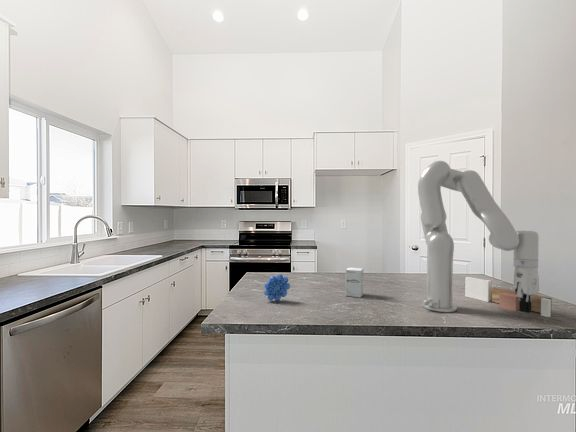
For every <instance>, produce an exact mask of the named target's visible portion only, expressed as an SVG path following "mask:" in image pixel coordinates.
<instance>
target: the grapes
mask: <svg viewBox="0 0 576 432" xmlns="http://www.w3.org/2000/svg"><path fill="white" fill-rule="evenodd" d="M288 282H289V278H288V276H283V274H282V273H279V274H277V275H276V276H275V275H272V276H270V277H269V278H268V281H267V282H265V283H264V285H263V287H264V288H265V289H264V290H263V295H264V296H267V300H268V301H273V300H274V301H275V302H279V301H281V299H282V298H283V297H284V298H286V296H287V295H288V290H290V288H291V284H290V283H288Z"/></svg>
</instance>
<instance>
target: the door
mask: <svg viewBox="0 0 576 432" xmlns="http://www.w3.org/2000/svg"><path fill="white" fill-rule="evenodd" d="M501 293H509V294H514V295H517V293H515V292H514V290H511V289H506V288H499V287H495V286H492V301H491V302H492V303H497V304H499V294H501ZM542 298H545V299H551V307H552V297H547V296H542V295H537V294H533V295H532V301H530V302H531V312H537V313H540V314H541V299H542Z"/></svg>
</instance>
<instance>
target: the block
mask: <svg viewBox="0 0 576 432" xmlns="http://www.w3.org/2000/svg"><path fill="white" fill-rule="evenodd" d="M498 304H499V305H498V306H499V307H498V308H502V309H505V310H511V311H515V312H516V311H520V310H519V304H520V301H519V297H517V295H514V294H509V293H501V294H499V303H498Z"/></svg>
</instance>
